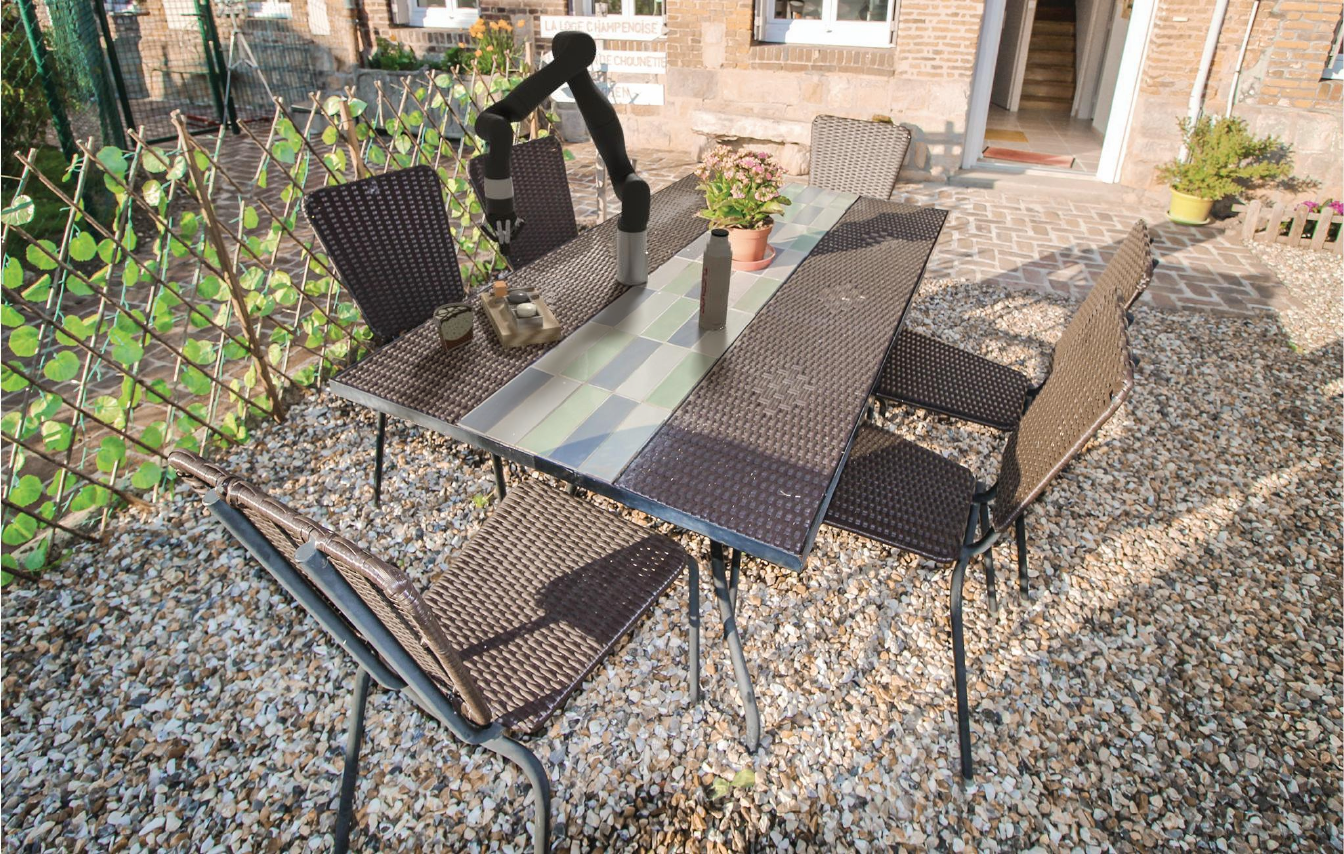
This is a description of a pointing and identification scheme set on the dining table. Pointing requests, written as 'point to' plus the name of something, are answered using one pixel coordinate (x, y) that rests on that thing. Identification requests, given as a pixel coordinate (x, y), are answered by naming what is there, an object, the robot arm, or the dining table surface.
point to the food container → (454, 324)
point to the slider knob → (500, 289)
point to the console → (520, 319)
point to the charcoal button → (518, 296)
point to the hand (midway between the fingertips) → (504, 255)
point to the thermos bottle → (715, 280)
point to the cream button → (526, 310)
